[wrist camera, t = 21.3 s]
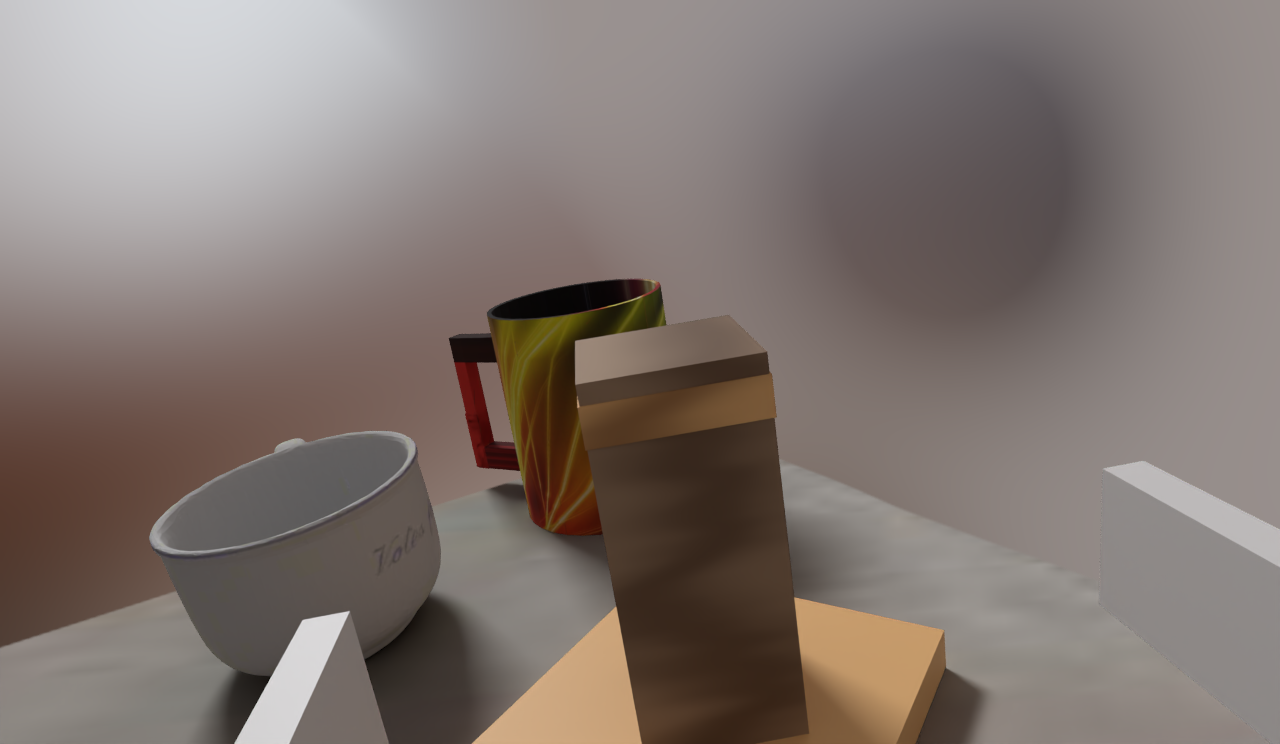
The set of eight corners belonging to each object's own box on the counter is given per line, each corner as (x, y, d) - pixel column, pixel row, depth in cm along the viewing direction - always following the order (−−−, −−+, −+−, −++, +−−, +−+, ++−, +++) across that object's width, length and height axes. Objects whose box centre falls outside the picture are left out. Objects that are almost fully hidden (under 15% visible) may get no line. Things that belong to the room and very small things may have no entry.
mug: (484, 478, 50) (444, 302, 47) (690, 454, 49) (663, 271, 46) (437, 552, 41) (383, 341, 38) (689, 525, 40) (656, 303, 36)
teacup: (459, 670, 31) (413, 493, 29) (171, 755, 28) (97, 569, 26) (451, 526, 44) (419, 397, 42) (253, 577, 42) (208, 443, 39)
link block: (644, 766, 22) (573, 385, 19) (631, 659, 27) (573, 340, 24) (811, 734, 23) (769, 352, 19) (768, 633, 28) (730, 314, 24)
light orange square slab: (464, 798, 24) (453, 760, 24) (662, 597, 34) (657, 567, 33) (820, 985, 17) (814, 936, 17) (945, 666, 27) (944, 630, 26)
